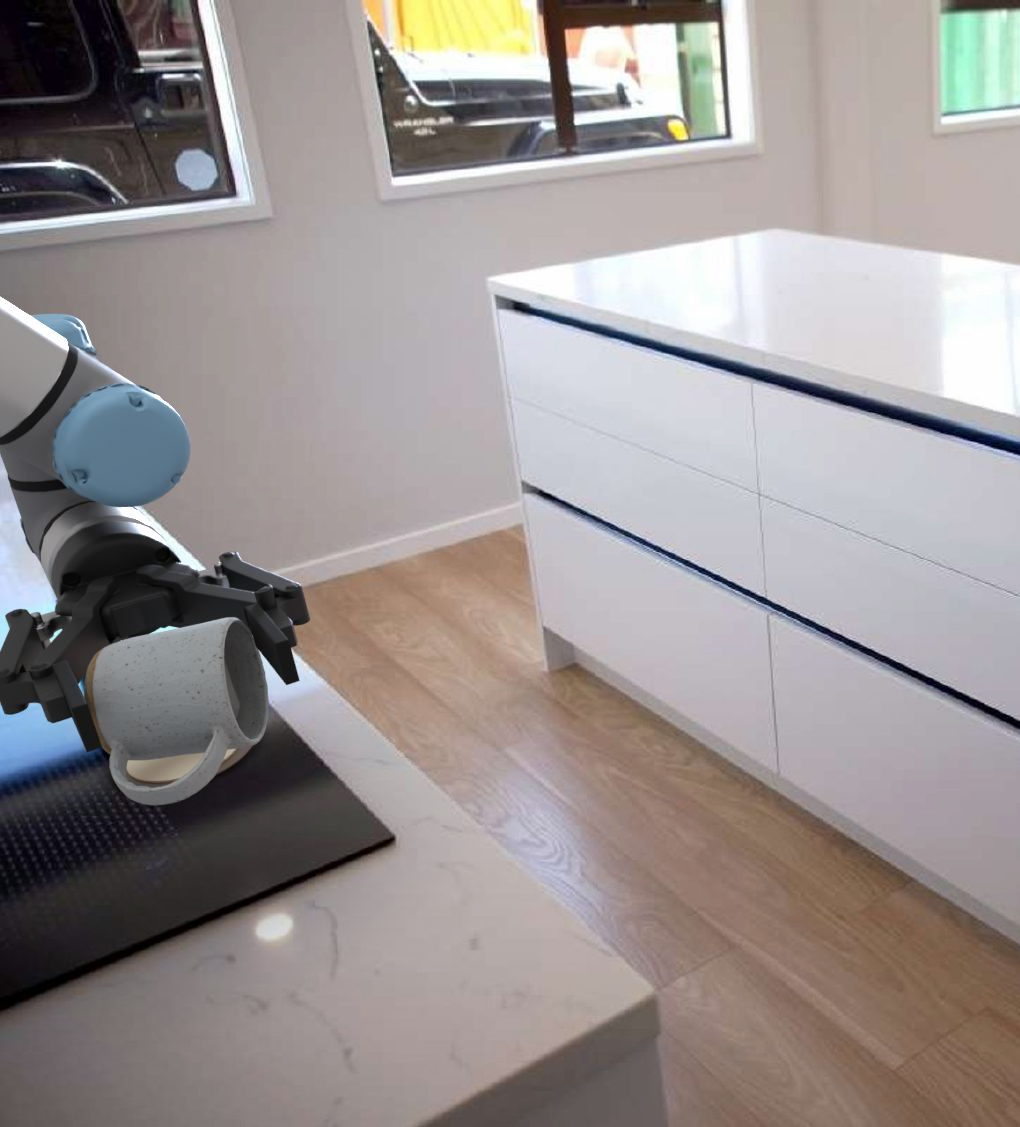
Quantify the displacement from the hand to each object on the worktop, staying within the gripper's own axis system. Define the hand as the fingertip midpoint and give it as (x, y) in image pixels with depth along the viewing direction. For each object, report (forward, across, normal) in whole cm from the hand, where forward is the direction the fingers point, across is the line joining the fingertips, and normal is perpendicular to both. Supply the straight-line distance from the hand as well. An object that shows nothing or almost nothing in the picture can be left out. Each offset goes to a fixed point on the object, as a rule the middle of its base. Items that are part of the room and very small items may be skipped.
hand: (191, 694), depth 71 cm
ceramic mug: (-4, 0, -6) cm, 8 cm away
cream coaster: (-27, -1, -18) cm, 32 cm away
